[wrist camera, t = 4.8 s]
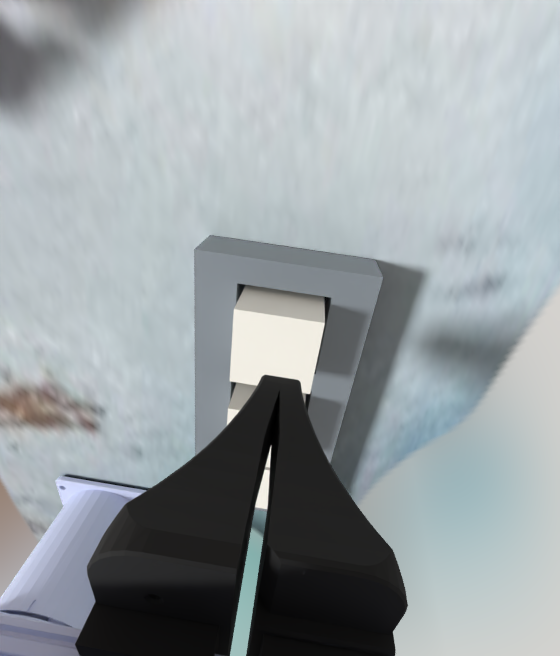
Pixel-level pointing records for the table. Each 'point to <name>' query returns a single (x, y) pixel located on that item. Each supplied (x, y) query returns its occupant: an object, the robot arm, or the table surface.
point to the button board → (290, 275)
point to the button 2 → (276, 335)
